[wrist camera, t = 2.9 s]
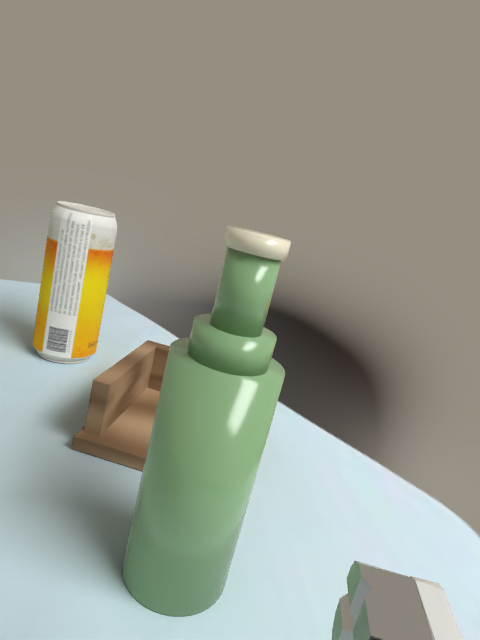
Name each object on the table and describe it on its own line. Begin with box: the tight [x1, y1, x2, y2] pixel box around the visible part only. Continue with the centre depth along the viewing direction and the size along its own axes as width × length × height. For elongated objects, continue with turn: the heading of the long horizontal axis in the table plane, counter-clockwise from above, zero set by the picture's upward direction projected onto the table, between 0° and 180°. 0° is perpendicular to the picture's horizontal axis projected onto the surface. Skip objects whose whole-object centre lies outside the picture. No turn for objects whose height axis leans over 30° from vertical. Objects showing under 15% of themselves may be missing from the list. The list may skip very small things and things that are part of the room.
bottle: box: [122, 226, 291, 616], centre depth 21 cm, size 5×5×18 cm
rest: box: [72, 340, 170, 471], centre depth 36 cm, size 12×12×5 cm
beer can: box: [33, 201, 117, 364], centre depth 44 cm, size 6×6×15 cm
